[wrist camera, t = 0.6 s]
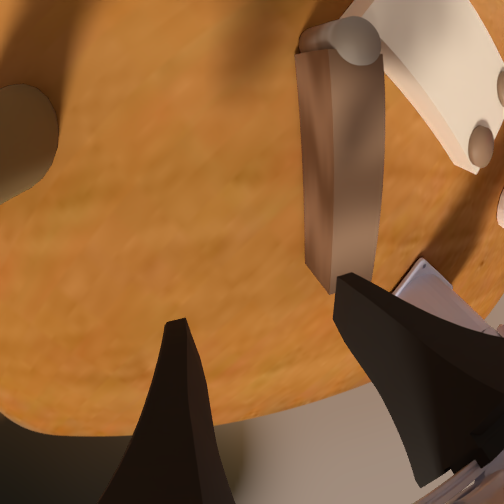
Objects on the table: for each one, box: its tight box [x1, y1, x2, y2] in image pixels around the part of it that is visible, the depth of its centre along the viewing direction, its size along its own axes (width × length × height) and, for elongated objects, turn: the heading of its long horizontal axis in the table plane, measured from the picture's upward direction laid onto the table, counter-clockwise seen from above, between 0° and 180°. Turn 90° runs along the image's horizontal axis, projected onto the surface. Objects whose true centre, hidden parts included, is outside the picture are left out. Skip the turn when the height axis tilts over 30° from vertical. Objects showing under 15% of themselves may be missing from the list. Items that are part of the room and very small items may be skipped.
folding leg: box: [295, 16, 385, 295], centre depth 15 cm, size 15×3×4 cm, turn 6°
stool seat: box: [340, 0, 504, 174], centre depth 13 cm, size 15×10×3 cm, turn 56°
